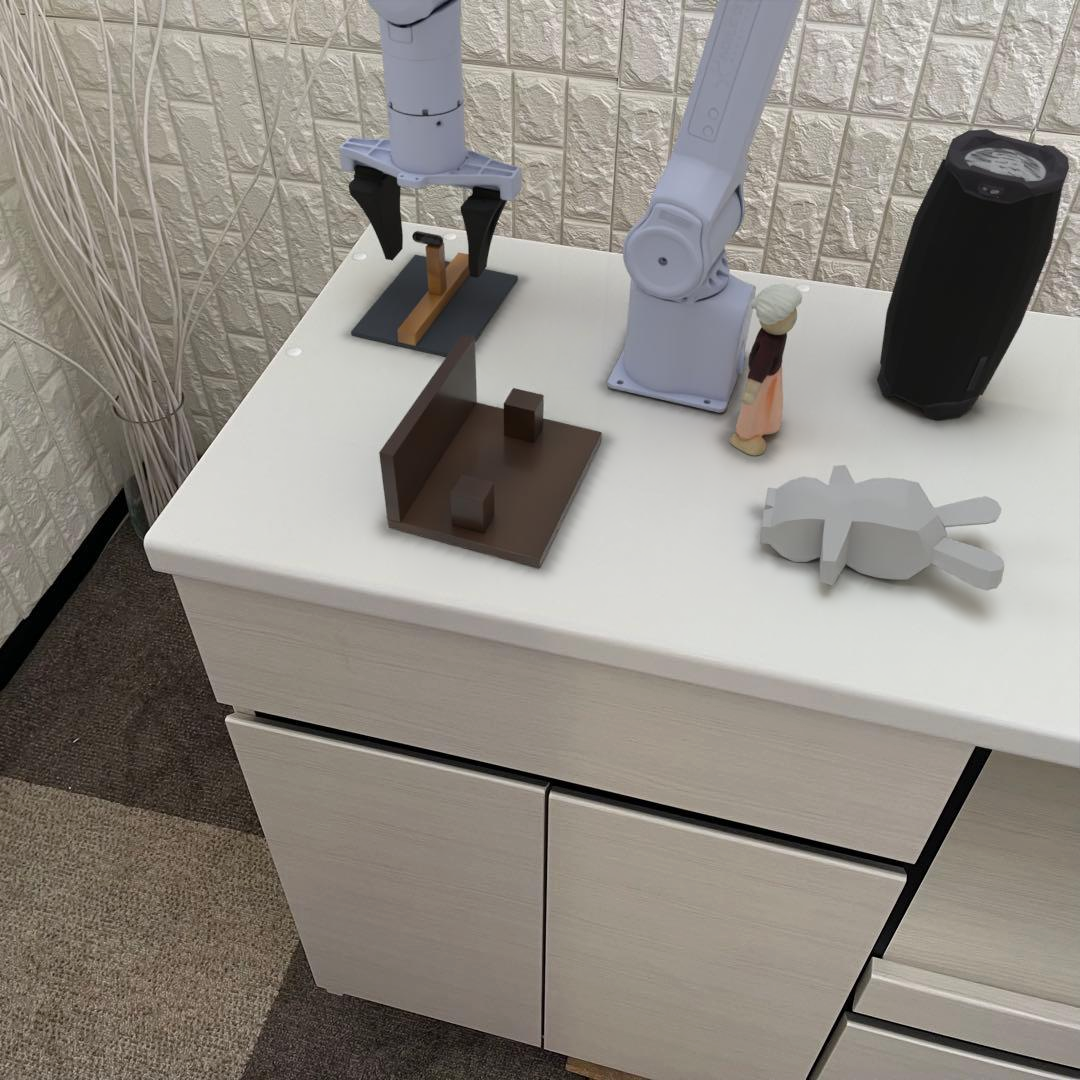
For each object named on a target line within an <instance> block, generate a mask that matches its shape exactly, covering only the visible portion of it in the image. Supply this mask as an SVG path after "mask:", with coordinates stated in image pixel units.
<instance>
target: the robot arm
mask: <svg viewBox="0 0 1080 1080" xmlns="http://www.w3.org/2000/svg"><path fill="white" fill-rule="evenodd" d="M366 1H367V3H368V4H369V6H370V7H371V9H372V10H373V11H374V12H375V13H376V14H377V15H378V26H379V34H380V35H379V36H380V37H379V39H380V47H381V58H382V59H381V60H382V70H383V79H384V80H383V81H384V91H385V102H386V112H387V123H388V132H389V133H388V134H389V138H364V137H363V138H361V137H354V136H350V137H348V138H347V139H346V140H345V141H344V142H343V143H342V144H340V145H339V146H338V153H339V159H340V167H341V168H340V169H341V171H345V172H349V173H352V172H354V174H353V179H352V180H351V181H350V182H349V183H348V192H349V195H350V196H351V197H352V199H353V200H354V201H355V202H356V203H357V204H358V205H359V207H360V208H361V210H362V211H363V213H364V214H365V215H366V217H367V219H368V222H370V224H371V227H372V228H373V231H374V233H375V235H376V238H377V239H378V242H379V244H380V247H381V250H382V253H383V256H384V259H385V260H387V261H388V260H389V261H393V260H394V259H395V258H396V257H397V256H398V255H399V254H400V252H402V250H403V249H404V247H403V245H404V235H403V221H402V215H401V188H407V189H413V190H420V189H423V188H424V187H425V186H450V187H455V188H461V189H465V190H466V189H467V190H471V191H472V193H471V195H469V196H468V197H467V198H466V199H465V200H464V202H463V203H462V204H461V205H460V214H461V216H462V220H463V224H464V228H465V233H466V239H467V240H466V241H467V254H468V266H469V273H470V276H471V277H476V278H478V277H479V276H480V275H481V273H482V272H483V271H484V269H487V266H488V260H489V253H490V249H491V244H492V241H493V236H494V234H495V230H496V227H497V225H498V222H499V220H500V218H501V215H502V213H503V211H504V208H505V206H506V204H507V203H508V202H513V201H514V200H515V199H516V198H517V197H518V195H519V193H520V192H521V191H522V167H521V166H518V165H514V164H509V163H505V162H504V161H503V162H502V161H500V160H497V159H495V158H493V157H490V156H487V155H485V154H483V153H480V152H477V151H475V150H472V149H470V148H468V147H466V128H465V127H466V126H465V125H466V124H465V102H464V100H465V99H464V80H463V79H464V77H463V58H462V57H463V56H462V55H463V54H462V34H461V32H462V30H461V18H462V0H366ZM803 3H804V0H718V1H717V4H716V7H715V10H714V14H713V17H712V20H711V24H710V26H709V30H708V34H707V36H706V40H705V43H704V47H703V51H702V53H701V57H700V60H699V63H698V67H697V70H696V73H695V76H694V80H693V83H692V87H691V89H690V93H689V96H688V100H687V103H686V106H685V111H684V113H683V116H682V120H681V123H680V126H679V129H678V132H677V136H676V139H675V142H674V146H673V150H672V153H671V155H670V157H669V159H668V161H667V163H666V165H665V168H664V170H663V171H662V174H661V176H660V178H659V179H658V182H657V184H656V186H655V187H654V190H653V191H652V195H651V197H650V200H649V204H648V207H647V209H646V212H644V215H643V216H642V217H640V219H639V220H638V221H636V223H634V225H632V227H631V228H630V229H629V231H628V232H627V234H626V236H625V238H624V241H623V245H622V260H623V264H624V267H625V270H626V272H627V273H628V275H629V276H630V285H629V286H630V287H629V297H628V309H627V320H626V321H627V322H626V329H625V330H626V331H625V341H624V348H623V349H622V352H621V354H620V356H619V357H618V360H617V362H616V363H615V366H614V368H613V369H612V371H611V373H610V376H609V377H608V379H607V387H609V388H610V389H613V390H617V391H622V392H627V393H631V394H635V395H640V396H643V397H647V398H648V397H649V398H652V399H657V400H662V401H666V402H671V403H675V404H679V405H684V406H688V407H692V408H697V409H702V410H706V411H710V412H715V413H724V412H725V411H726V410H727V407H728V405H729V402H730V400H731V396H732V393H733V390H734V388H735V385H736V382H737V379H738V377H739V376H741V375H742V373H743V370H744V367H745V364H746V358H747V352H746V348H747V341H748V336H749V333H750V332H749V331H750V326H751V322H752V316H753V310H754V308H752V307H751V301H752V300H753V299H754V298H755V297H756V293H757V286H756V285H755V284H752V283H750V282H747V281H744V280H742V279H741V278H740V279H739V278H738V277H736V276H735V275H733V274H731V273H730V272H731V271H730V270H731V269H730V267H729V266H730V265H729V260H728V255H727V251H726V246H727V244H728V243H729V241H730V240H731V238H733V237H734V236H735V234H736V233H737V232H738V231H739V229H740V228H741V226H742V224H743V222H744V219H745V214H746V201H745V195H744V184H745V180H746V176H747V173H748V171H749V168H750V163H749V160H748V159H747V157H748V154H749V151H750V149H751V146H752V143H753V141H754V138H755V135H756V132H757V129H758V126H759V123H760V122H761V119H762V116H763V112H764V110H765V107H766V104H767V102H768V99H769V96H770V94H771V91H772V88H773V85H774V82H775V80H776V76H777V75H778V71H779V68H780V66H781V63H782V60H783V58H784V55H785V51H786V48H787V47H788V44H789V40H790V38H791V35H792V33H793V30H794V27H795V24H796V22H797V19H798V16H799V13H800V10H801V7H802V5H803Z"/></svg>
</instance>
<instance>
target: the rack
mask: <svg viewBox="0 0 1080 1080" xmlns="http://www.w3.org/2000/svg"><path fill="white" fill-rule="evenodd" d="M476 361H477V359H476V341H475V337H474V336H469V335H465V334H462V335H461V337H460V338H459V340H458V341H457V342H456V344H455V345H454V347H453V348H452V350H451V351H450V352H449V354H448V355H447V357H444V359H443V360H442V362H441V364H440V365H439V366H438V368H437V370H436V371H435V372H434V373H433V375H432V376H431V378H430V379H429V380H428V382H427V384H426V385H425V386H424V388H423V389H422V391H421V392H420V394H419V395H418V396H417V398H416V400H415V401H414V402H413V404H412V405H411V406H410V408H409V410H408V411H407V412H406V414H405V415H404V417H403V418H402V419H401V420H400V422H399V423H398V425H396V428H395V429H394V430H393V432H392V434H391V435H390V436H389V438H388V439H387V440H386V442H385V444H383V446H382V448H381V449H380V451H379V452H378V455H379V463H380V471H381V479H382V486H383V495H384V496H383V497H384V503H385V511H386V519H387V526H388V528H389V529H394V530H397V531H401V532H404V533H408V534H412V535H415V536H419V537H423V538H427V539H431V540H435V541H438V542H442V543H445V544H449V545H453V546H456V547H460V548H464V549H467V550H471V551H475V552H478V553H483V554H486V555H489V556H493V557H497V558H501V559H505V560H508V561H512V562H515V563H519V564H524V565H527V566H530V567H534V568H537V569H539V568H541V565H542V563H543V561H544V559H545V557H546V555H547V553H548V551H549V549H550V547H551V545H552V543H553V541H554V538H555V537H556V535H557V533H558V530H559V529H560V527H561V524H562V522H563V520H564V518H565V517H566V515H567V512H568V509H569V507H570V506H571V503H572V501H573V499H574V497H575V495H576V494H577V491H578V488H580V485H581V482H582V481H583V478H584V476H585V475H586V472H587V471H588V468H589V466H590V464H591V462H592V460H593V458H594V456H595V454H596V451H597V450H598V447H599V446H600V444H601V441H602V437H603V432H602V431H599V430H594V429H591V428H586V427H582V426H579V425H578V426H577V425H574V424H569V423H565V422H561V421H557V420H552V419H549V418H545V417H544V404H545V403H544V401H545V395H544V394H542V393H537V392H533V391H528V390H526V389H525V390H524V389H521V388H516V387H513V388H512V389H511V391H510V392H509V394H508V396H507V397H506V399H505V400H504V402H503V408H502V407H497V406H494V405H489V404H485V403H482V402H478V395H477V394H478V393H477V392H478V391H477V388H478V387H477V362H476Z"/></svg>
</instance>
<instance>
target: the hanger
mask: <svg viewBox="0 0 1080 1080" xmlns="http://www.w3.org/2000/svg"><path fill="white" fill-rule="evenodd" d="M411 237H412V240H413V241H414V242H415V243H418V244H422V245H425V257H426V260H427V275H428V290H429V291H428V292H427V293H426V294H425V296H424V297H423V298H422V299H421V301H420V302H419V303H418V305H417V306H416V307H415V308H414V310H413V311H412V312H411V313H410V315H409V316H408V317H407V319H406V320H405V321H404V322H403V324H402V325H401V326H400V327H399V329H398V330H397V333H398V342H401V343H405V344H409V345H414V346H416V345H417V343H418V342H419V341H420V339H421V338H422V337H423V335H424V334H425V333H426V331H427V330H428V329H429V327H430V326H431V325H432V323H433V322H434V321H435V319H436V318H437V317H438V315H439V314H440V313H441V311H442V310H443V309H444V307H445V306H446V305H447V303H448V302H449V301H450V299H451V298H452V297H453V295H454V294H455V293H456V291H457V290H458V289H459V287H460V286H461V285H462V283H463V282H464V281H465V279H466V278H467V277H468V275H469V274H470V273H469V266H468V253H464V252H458V253H456V255H454V257H453V258H452V260H451V261H450V262H451V263H450V264H449V265H448V266H447V268H446V269H445V261H446V254H445V253H446V251H445V242H444V238H443V237H442V236H441V235H439V234H435V233H431V232H424V231H420V230H416V231H414V232H413V233H412V236H411Z"/></svg>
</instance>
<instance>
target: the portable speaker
mask: <svg viewBox="0 0 1080 1080" xmlns="http://www.w3.org/2000/svg"><path fill="white" fill-rule="evenodd" d="M940 162H941V163H940V164H939V167H938V168H937V171H936V173H935V175H934V177H933V179H932V181H931V183H930V185H929V187H928V189H927V192H926V193H925V195H924V197H923V200H922V201H921V204H920V206H919V208H918V210H917V212H916V214H915V216H914V219H913V221H912V224H911V228H910V231H909V235H908V238H907V242H906V245H905V248H904V252H903V255H902V259H901V261H900V265H899V268H898V272H897V274H896V275H897V276H896V278H895V281H894V282H895V283H894V286H893V288H892V291H891V296H890V300H889V302H888V306H887V308H886V314H885V321H884V330H883V337H882V345H881V353H880V359H879V360H880V361H879V365H880V368H879V372H878V375H877V377H876V380H877V383H878V386H879V389H880V391H881V394H882V396H886V397H893V396H895V397H898V398H900V399H902V400H904V401H906V402H909V403H911V404H912V405H915V406H917V407H919V408H921V409H922V411H923V412H924V414H925V416H926V417H927V418H930V419H933V420H936V421H941V420H950V419H954V418H961V417H963V416H964V415H965V414H967V413H969V411H971V410H972V408H973V407H974V405H975V403H976V402H977V401H978V399H979V397H981V396H983V395H984V393H985V391H986V390H987V388H988V386H989V384H990V382H991V381H992V379H993V377H994V375H995V374H996V371H997V369H998V368H999V366H1000V364H1001V362H1002V360H1003V358H1004V357H1005V355H1006V354H1007V352H1008V349H1009V348H1010V346H1011V344H1012V342H1013V341H1014V339H1015V336H1016V335H1017V333H1018V331H1019V329H1020V327H1021V326H1022V323H1023V321H1024V318H1025V316H1026V313H1027V311H1028V308H1029V305H1030V302H1031V299H1032V297H1033V295H1034V292H1035V290H1036V287H1037V284H1038V283H1039V280H1040V277H1041V274H1042V272H1043V269H1044V267H1045V264H1046V261H1047V259H1048V256H1049V254H1050V251H1051V249H1052V245H1053V241H1054V235H1055V230H1056V224H1057V220H1058V219H1057V218H1058V213H1059V207H1060V203H1061V197H1062V193H1063V187H1064V185H1065V181H1066V178H1067V176H1068V173H1069V170H1070V162H1069V157H1068V156H1067V155H1066V154H1065V153H1063V152H1062V151H1061V150H1060V149H1059V148H1057V147H1056V146H1055V145H1050V144H1037V143H1034V142H1030V141H1026V140H1021V139H1018V138H1015V137H1010V136H1006V135H1004V134H1003V135H1002V134H998V133H996V132H994V131H992V130H990V129H987V128H986V129H971V130H969V129H968V130H967V131H964V132H963V133H960V134H959V135H957V136H955V137H954V138H952V139H951V142H950V144H949V147H948V149H947V153H946V156H945V158H942V160H941V161H940Z"/></svg>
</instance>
